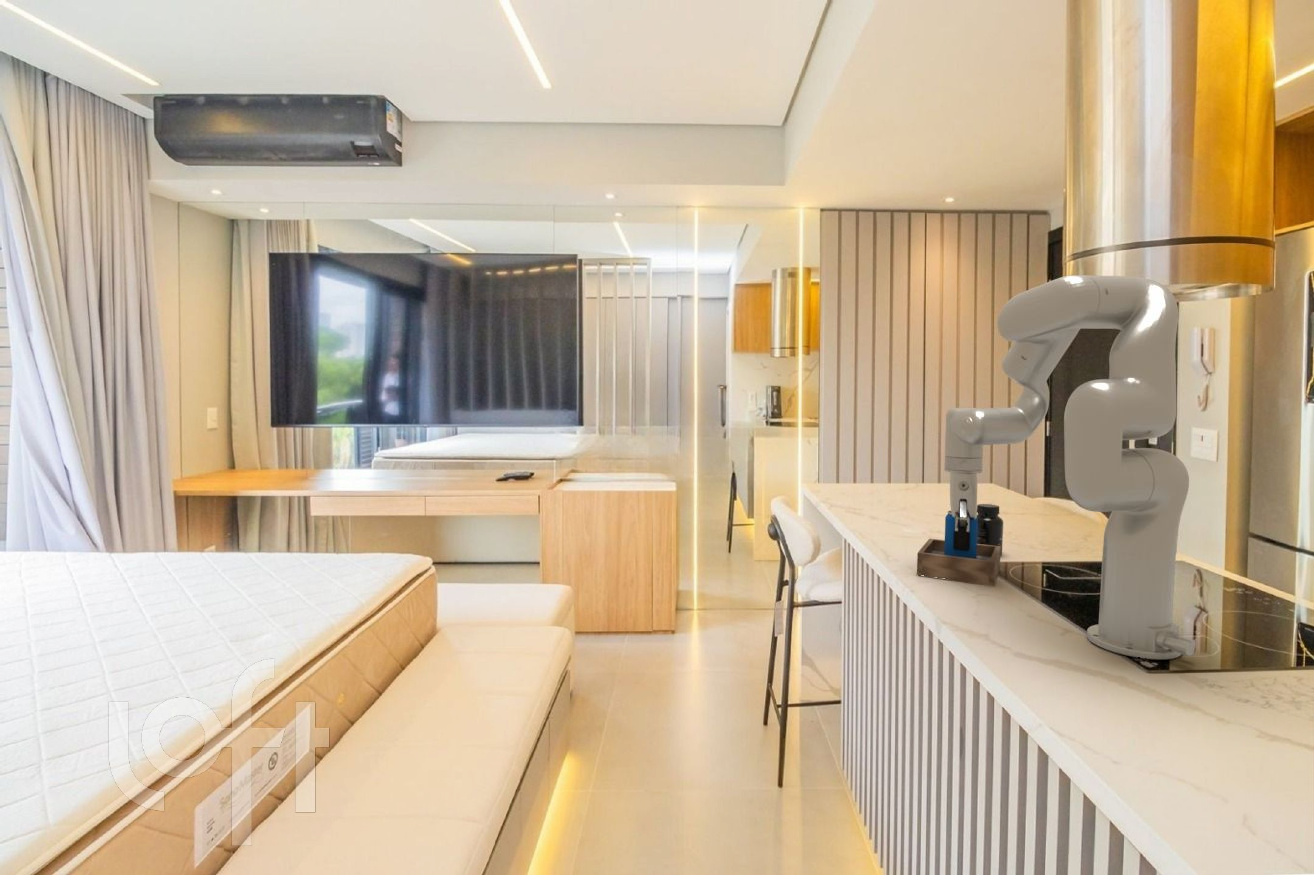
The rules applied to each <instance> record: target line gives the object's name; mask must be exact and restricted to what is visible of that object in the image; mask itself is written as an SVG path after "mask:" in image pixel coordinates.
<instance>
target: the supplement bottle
mask: <svg viewBox="0 0 1314 875" xmlns="http://www.w3.org/2000/svg"><path fill="white" fill-rule="evenodd" d="M999 515H1000V506H999V505H997V504H993V503H992V504H991V503H990V504H989V503H977V519H978V530H977V544H984V545H993V546H1001V553H1000V557H1002V554H1003V540H1004V539H1003V536H1004V520H1003V518H1001V517H1000V516H999Z"/></svg>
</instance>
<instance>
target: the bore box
mask: <svg viewBox="0 0 1314 875" xmlns="http://www.w3.org/2000/svg"><path fill="white" fill-rule="evenodd" d="M944 547H945V539H937V538H929V539H927V540H926V542H925V543H924V545H922V547H921V548H920V549H919V550H918V552H917V555H916V556H917V557H916V558H917V560H916V561H917V562H916V576H917V575H924V576H928V577H927V578H930V577H937V578H936V579H938V578H945V579H948V580H947V581H952V580H955V581H954V582H960V583H969V584H976V585H982V586H989V587H994V586H995V584H996V581H997V578H998V574H999V572H1000V569H1001V556H1000V553H1001V546H993V545H984V544H977V559H973V558H965V557H957V556H948V555H944ZM945 579H944V580H945Z"/></svg>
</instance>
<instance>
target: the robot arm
mask: <svg viewBox="0 0 1314 875" xmlns="http://www.w3.org/2000/svg"><path fill="white" fill-rule="evenodd" d="M1178 324H1179V307H1178V303H1177V299H1176V298H1175V295H1174V294H1173V293H1172V291H1171V290H1170V289H1169V288H1168V286H1167V287H1166V286H1165V285H1163V284H1162V283H1160V282H1158V281H1155V280H1152V279H1149V278H1145V277H1137V276H1123V275H1090V274H1089V275H1088V274H1079V275H1078V274H1075V275H1074V274H1073V275H1072V274H1071V275H1066V276H1061V277H1058V278H1056V279H1052V280H1050V281H1047V282H1045V283H1043V284H1041V285H1038V286H1035V287H1032V288H1030V289H1028V290H1025V291H1023V292H1020V293H1018V294H1016V295H1015V296H1013V297H1012V298H1010V299H1009V300H1008V301H1007V302H1005V303H1004V305H1003V307H1002V308H1001V309H1000V312H999V314H998V317H997V330H998V332H999V335H1000V336H1001V338H1003V339H1004V340H1005V341H1007V342H1011V343H1012V344H1011V345H1010V347H1009V349H1008V351H1007V352H1006V354H1005V355H1004V357H1003V359H1002V362H1001V369H1002V371H1003V373H1004V374H1005V375H1006V376H1007V377H1008V378H1009V379H1010V380H1011V381H1013V382H1014V383H1016V384H1017V385H1019V386H1022V387H1023V389H1022V392H1021V394H1020V396H1019V397H1018V399H1017V400H1016V402H1015V404H1014V405H1013V406H1012V407H990V408H989V407H986V408H984V407H983V408H981V407H979V408H978V407H952V408H949V409H948V410H947V412H946V416H945V436H944V437H945V439H944V440H945V441H944V448H945V449H944V469H943V470H944V472H946V473H949V474H950V475H949V476H950V477H949V502H950V504H949V505H950V511H951V513H952V517H953V518H955V531H954V538H953V549H954V550H962V551H969V550H970V532H969V520H970V518H969V514H970V517H972V518H973V520H975V519H976V518H977V515H978V513H977V505H978V474H982V473H983V465H984V464H983V461H984V458H983V456H984V454H983V453H984V446H993V445H995V446H996V445H1016V444H1017V445H1018V444H1020V443H1023V442H1025V441H1026V440H1028V439H1030V437H1031V436H1032V435H1033V434H1034V433H1035V431H1036V430H1037V428H1038V427H1039V426H1040V425H1041V423H1042V421H1043V420H1044V419H1045V417H1046V415H1047V413H1048V410H1049V407H1050V406H1049V404H1050V389H1049V388H1050V387H1049V385H1048V382H1047V381H1048V379H1049V377H1050V376H1051V374H1052V372H1053V371H1054V369H1055V368H1056V367H1057V365H1058V364H1059V362H1060V360H1061V359H1062V357H1063V356H1064V354H1065V353H1066V351H1067V350H1068V349H1069V347H1070V346H1071V344H1072V343H1073V341H1074V340H1075V338H1076V337H1077V335H1078V333H1079V331H1080V330H1081V329H1087V330H1089V329H1090V330H1093V329H1094V330H1095V329H1096V330H1097V329H1098V330H1099V329H1101V330H1102V329H1107V330H1108V329H1111V330H1114V329H1115V330H1120V331H1119V333H1118V334H1117V336H1116V337H1115V339H1114V341H1113V343H1112V344H1111V345H1112V346H1111V348H1110V350H1109V351H1110V352H1109V356H1108V361H1109V374H1108V375H1109V377H1108V378H1104V379H1103V378H1101V379H1094V380H1089V381H1086V382H1084V383H1082V384H1080V385H1079V386H1077V387H1076V388H1075V389H1074V390H1073V391H1072V393H1071V394H1070V396H1069V398H1068V399H1067V402H1066V406H1065V408H1064V409H1065V410H1064V416H1063V439H1064V440H1063V441H1064V444H1063V445H1064V478H1065V485H1066V486H1065V487H1066V488H1067V492H1068V494H1069V496H1070V498H1071V499H1072V501H1073V502H1074V503H1075V504H1076V505H1077V506H1078V507H1080V508H1082V509H1084V510H1086V511H1089V512H1100V513H1104V512H1108V513H1109V512H1111V513H1110V515H1109V517H1108V519H1107V522H1106V523H1105V524H1106V525H1105V528H1104V531H1103V532H1104V533H1103V541H1102V542H1103V545H1102V556H1101V557H1102V559H1101V577H1100V578H1101V579H1100V593H1099V609H1098V610H1099V611H1098V612H1099V613H1098V624H1094V625H1091V626H1089V627H1088V628H1087V630H1086V638H1087V639H1088V640H1089V641H1090V642H1091V643H1092V644H1094V645H1096V646H1098V647H1099V648H1102V649H1104V650H1107V651H1109V652H1113V653H1116V654H1119V655H1123V656H1129V657H1133V658H1138V657H1140V658H1139V659H1145V658H1146V659H1148V660H1170V659H1171V660H1172V659H1175V658H1176V659H1177V658H1179V657H1180V656H1181V655H1185V656H1187V657H1191V656H1192V655H1194V653H1195V648H1196V645H1197V642H1196V640H1195V639H1192V638H1190V637H1187V636H1186V637H1185V636H1183V635H1182V636H1181V635H1180V633H1179V632H1180V625H1179V624H1176V623H1174V622H1172V620H1173V605H1174V591H1175V590H1174V589H1175V574H1176V573H1175V572H1176V561H1177V560H1176V556H1177V549H1178V536H1179V528H1180V521H1181V517H1182V513H1183V510H1184V506H1185V502H1186V500H1187V497H1188V493H1189V488H1190V477H1189V476H1190V475H1189V472H1188V470H1187V467H1186V466H1185V463H1184V462H1183V461H1182V460H1181V459H1180V458H1179V457H1177V456H1176V455H1175V454H1173V453H1172V452H1169V451H1166V450H1163V449H1159V448H1151V447H1150V448H1149V447H1135V448H1123V441H1138V440H1149V439H1155V438H1159V437H1162V436H1164V435H1166V434H1168V433H1169V432H1170V431H1171V430H1172V429H1173V427H1174V426H1175V421H1176V418H1177V416H1176V415H1177V371H1176V370H1177V369H1176V368H1177V364H1176V343H1177V342H1176V339H1177V332H1178ZM957 515H960V517H957ZM966 515H967V517H966ZM958 520H960V521H958Z"/></svg>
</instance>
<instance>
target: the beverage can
mask: <svg viewBox="0 0 1314 875" xmlns="http://www.w3.org/2000/svg"><path fill="white" fill-rule="evenodd" d="M957 517H960V515H957ZM966 517H967V515H966ZM969 518H970V520H969V532H970V550H969V551H962V550H954V549H953V538H954V531H955V518H953V517H952V513H951V510H948V511H947V514H946V516H945V519H944V520H945V521H944V522H945V523H944V540H945V547H944V555H948V556H957V557H965V558H973V559H977V530H978V519H977V518H976V519H975V520H973V518H972V517H970V514H969ZM958 521H960V520H958Z"/></svg>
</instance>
